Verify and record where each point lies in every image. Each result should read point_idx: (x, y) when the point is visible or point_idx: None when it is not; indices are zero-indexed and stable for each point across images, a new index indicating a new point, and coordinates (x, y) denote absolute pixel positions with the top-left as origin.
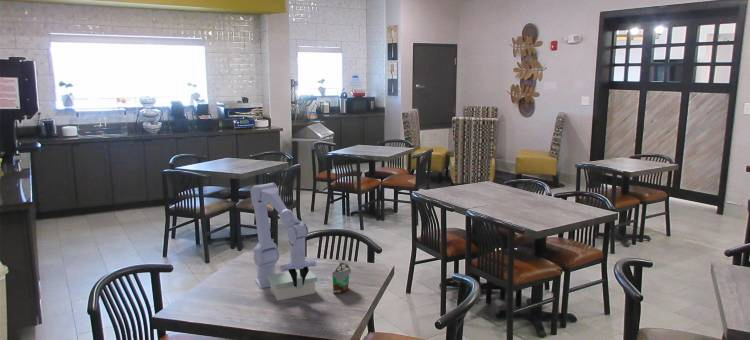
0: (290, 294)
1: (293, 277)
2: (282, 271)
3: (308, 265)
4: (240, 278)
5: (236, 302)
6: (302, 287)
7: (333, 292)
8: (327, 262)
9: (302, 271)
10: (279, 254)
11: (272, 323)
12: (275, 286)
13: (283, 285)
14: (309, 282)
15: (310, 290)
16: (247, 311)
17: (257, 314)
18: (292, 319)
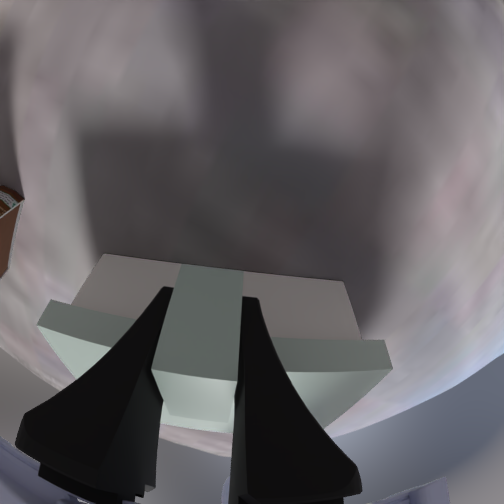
0: (261, 290)
1: (307, 412)
2: (438, 485)
3: (12, 497)
4: None
5: (448, 330)
6: (182, 266)
7: (18, 202)
8: (63, 386)
9: (124, 461)
10: (221, 500)
11: (499, 67)
12: (387, 357)
13: (331, 354)
14: (100, 314)
15: (119, 273)
16: (488, 253)
17: (492, 202)
18: (409, 3)
